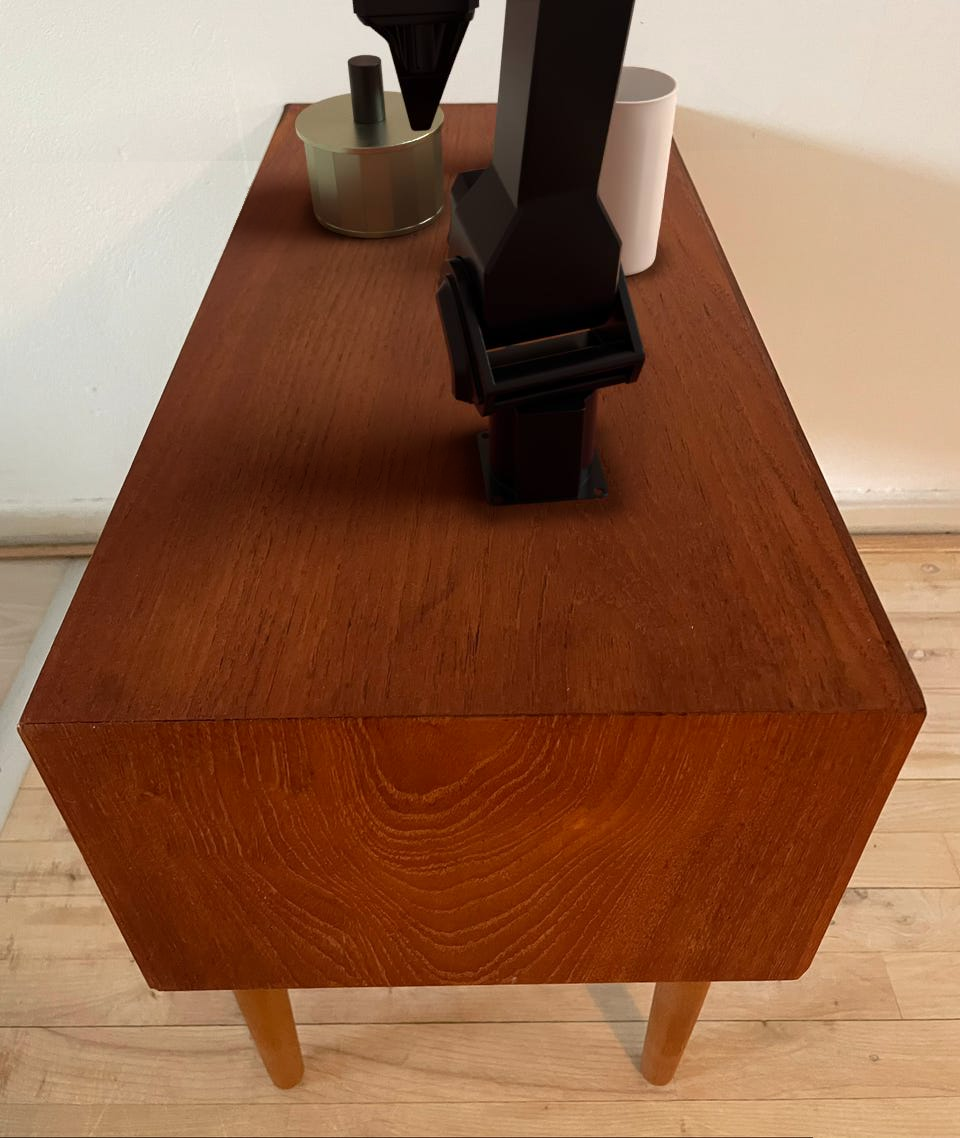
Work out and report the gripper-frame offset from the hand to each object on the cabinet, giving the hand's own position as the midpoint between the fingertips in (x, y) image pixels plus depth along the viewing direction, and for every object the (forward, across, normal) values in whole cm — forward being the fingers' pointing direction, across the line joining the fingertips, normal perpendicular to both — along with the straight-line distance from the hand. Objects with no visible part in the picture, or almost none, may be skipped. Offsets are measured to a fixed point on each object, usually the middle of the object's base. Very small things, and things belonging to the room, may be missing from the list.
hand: (416, 100), depth 61 cm
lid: (+6, -14, -3) cm, 16 cm away
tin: (+13, -14, -3) cm, 19 cm away
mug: (+13, -4, +12) cm, 18 cm away
